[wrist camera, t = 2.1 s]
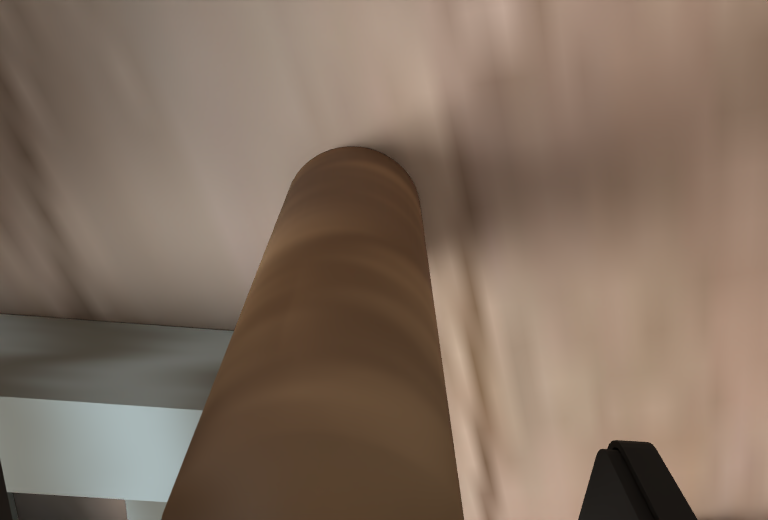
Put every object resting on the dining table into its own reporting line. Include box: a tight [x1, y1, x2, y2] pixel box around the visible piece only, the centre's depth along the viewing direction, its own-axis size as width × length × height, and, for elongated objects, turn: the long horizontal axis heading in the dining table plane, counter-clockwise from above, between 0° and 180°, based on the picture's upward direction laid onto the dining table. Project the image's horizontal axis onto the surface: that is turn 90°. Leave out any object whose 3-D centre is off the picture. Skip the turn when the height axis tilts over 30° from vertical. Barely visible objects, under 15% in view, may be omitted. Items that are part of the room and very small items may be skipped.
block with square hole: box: [0, 314, 234, 520], centre depth 22 cm, size 13×13×4 cm
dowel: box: [161, 147, 464, 520], centre depth 14 cm, size 4×4×12 cm
